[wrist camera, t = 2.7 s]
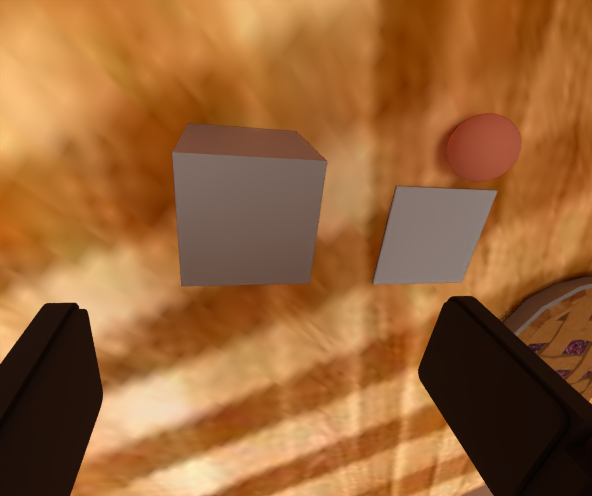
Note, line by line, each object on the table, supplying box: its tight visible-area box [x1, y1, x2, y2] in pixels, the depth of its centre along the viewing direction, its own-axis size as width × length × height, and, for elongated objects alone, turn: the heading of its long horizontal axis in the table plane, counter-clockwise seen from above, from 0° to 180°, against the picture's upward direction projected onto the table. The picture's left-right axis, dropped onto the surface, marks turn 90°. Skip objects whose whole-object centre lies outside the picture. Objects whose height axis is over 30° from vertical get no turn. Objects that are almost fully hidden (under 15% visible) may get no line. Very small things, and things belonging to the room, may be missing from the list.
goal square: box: [372, 186, 497, 284], centre depth 32 cm, size 10×10×1 cm
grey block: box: [172, 123, 327, 286], centre depth 23 cm, size 8×8×9 cm
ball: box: [447, 114, 521, 181], centre depth 26 cm, size 5×5×5 cm
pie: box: [504, 277, 592, 401], centre depth 42 cm, size 22×22×5 cm
